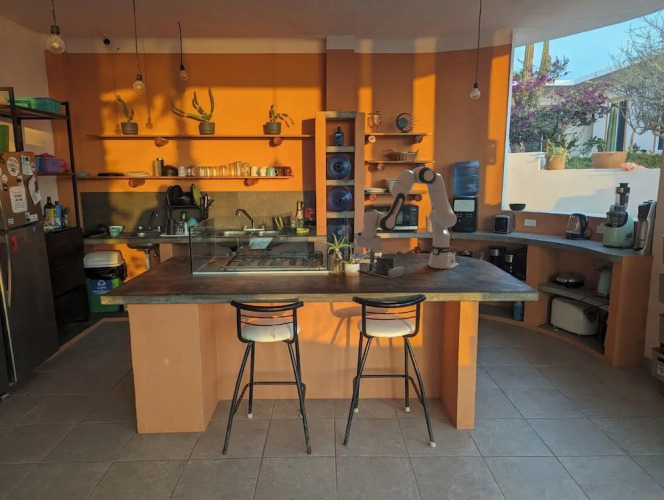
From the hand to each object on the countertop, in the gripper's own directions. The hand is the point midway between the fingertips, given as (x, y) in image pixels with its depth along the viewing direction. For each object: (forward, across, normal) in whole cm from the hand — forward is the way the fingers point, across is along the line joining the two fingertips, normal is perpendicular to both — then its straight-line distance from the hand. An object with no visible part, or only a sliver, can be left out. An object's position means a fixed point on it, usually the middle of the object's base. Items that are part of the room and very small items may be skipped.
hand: (369, 255), depth 291 cm
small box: (+10, -14, 0) cm, 17 cm away
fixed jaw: (+10, -11, 0) cm, 15 cm away
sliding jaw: (+10, -4, 0) cm, 10 cm away
